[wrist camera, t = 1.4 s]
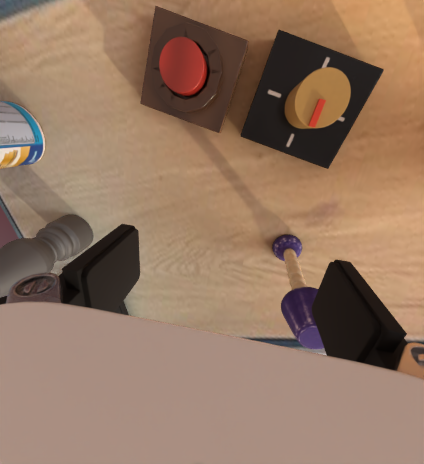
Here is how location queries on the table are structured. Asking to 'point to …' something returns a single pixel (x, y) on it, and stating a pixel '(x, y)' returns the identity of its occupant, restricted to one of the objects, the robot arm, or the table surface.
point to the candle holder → (43, 250)
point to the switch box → (218, 70)
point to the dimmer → (285, 80)
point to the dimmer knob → (318, 99)
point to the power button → (183, 66)
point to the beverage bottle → (19, 136)
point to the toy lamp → (297, 294)
